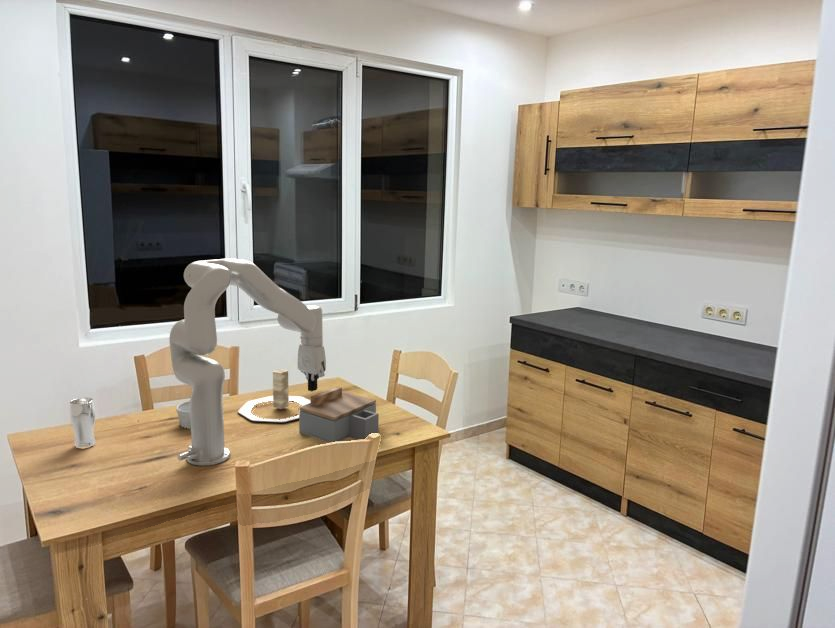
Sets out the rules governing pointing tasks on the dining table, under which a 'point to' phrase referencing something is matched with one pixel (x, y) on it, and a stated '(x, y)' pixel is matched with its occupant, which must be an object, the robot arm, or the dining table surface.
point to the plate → (250, 404)
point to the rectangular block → (280, 389)
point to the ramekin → (184, 414)
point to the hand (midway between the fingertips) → (312, 390)
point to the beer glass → (83, 421)
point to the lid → (336, 404)
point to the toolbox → (340, 425)
